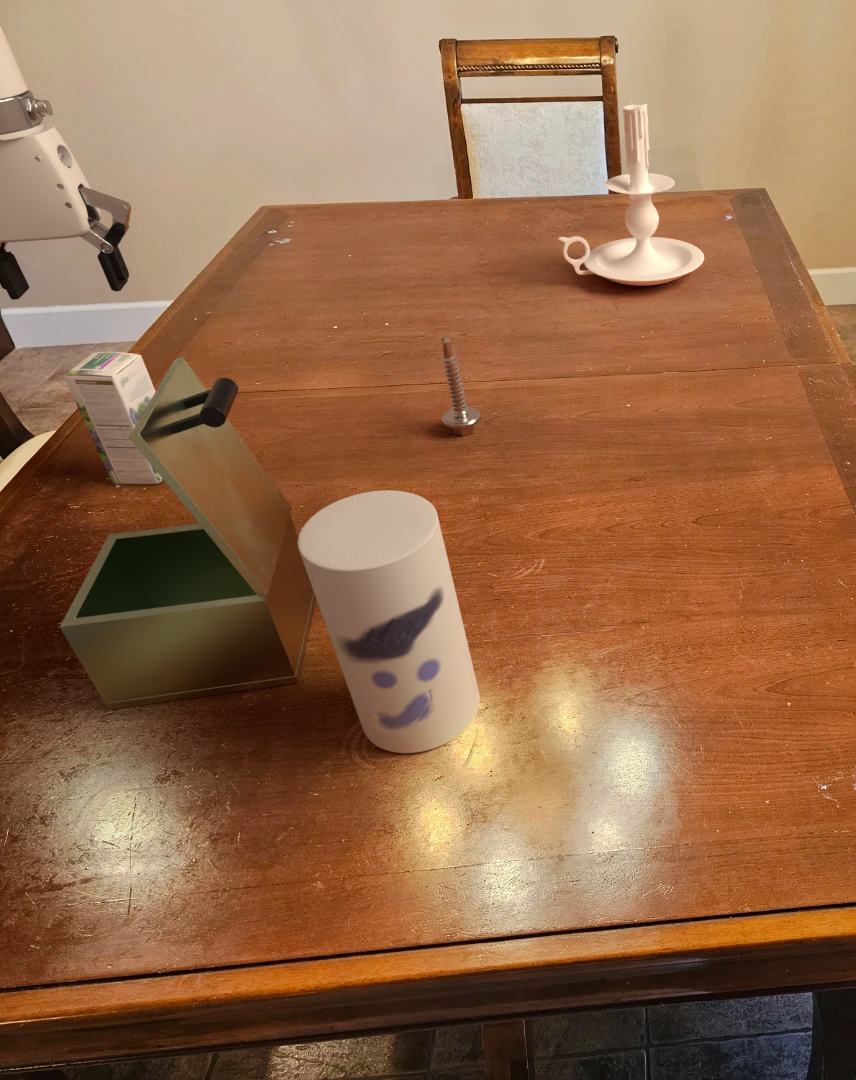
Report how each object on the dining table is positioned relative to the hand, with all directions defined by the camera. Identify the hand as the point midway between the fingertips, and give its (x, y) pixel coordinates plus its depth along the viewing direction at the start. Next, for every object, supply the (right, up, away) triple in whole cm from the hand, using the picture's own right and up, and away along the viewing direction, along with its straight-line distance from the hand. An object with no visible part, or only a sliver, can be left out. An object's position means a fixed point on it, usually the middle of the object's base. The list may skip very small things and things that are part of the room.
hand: (71, 290), depth 97 cm
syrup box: (0, -18, +14) cm, 23 cm away
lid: (+26, -21, -20) cm, 40 cm away
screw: (+36, -12, +21) cm, 43 cm away
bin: (+21, -36, -10) cm, 43 cm away
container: (+42, -41, -16) cm, 61 cm away
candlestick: (+53, +19, +62) cm, 84 cm away
